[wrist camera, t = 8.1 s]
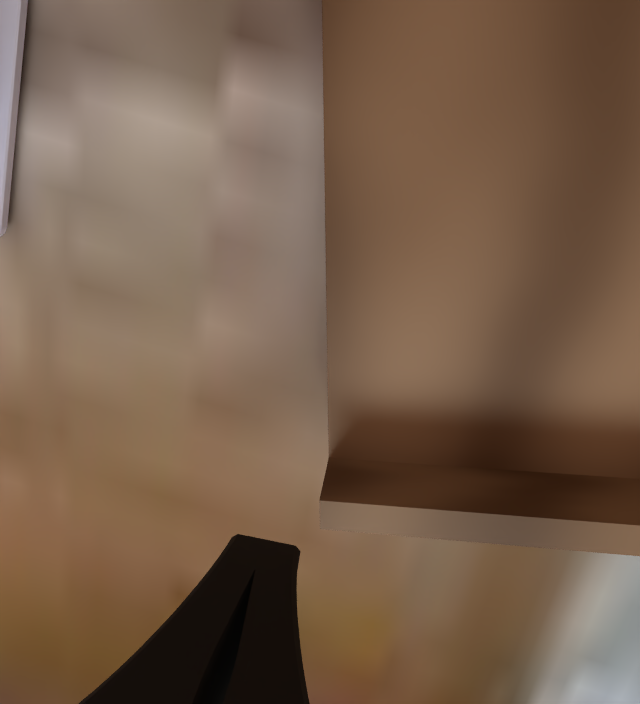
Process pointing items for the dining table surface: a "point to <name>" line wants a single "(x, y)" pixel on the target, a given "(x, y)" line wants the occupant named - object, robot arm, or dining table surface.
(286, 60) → the dining table surface
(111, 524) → the dining table surface
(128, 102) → the dining table surface
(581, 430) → the walnut box
